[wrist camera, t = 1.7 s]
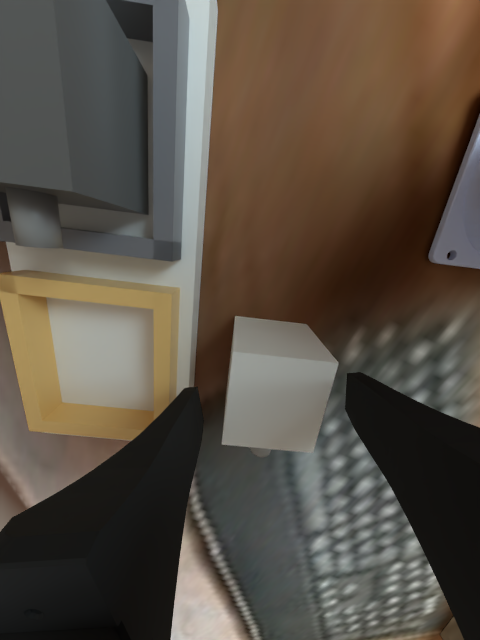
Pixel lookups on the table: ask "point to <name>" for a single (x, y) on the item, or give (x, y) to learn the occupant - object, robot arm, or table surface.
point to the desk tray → (451, 631)
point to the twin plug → (69, 115)
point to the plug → (276, 386)
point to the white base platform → (123, 256)
